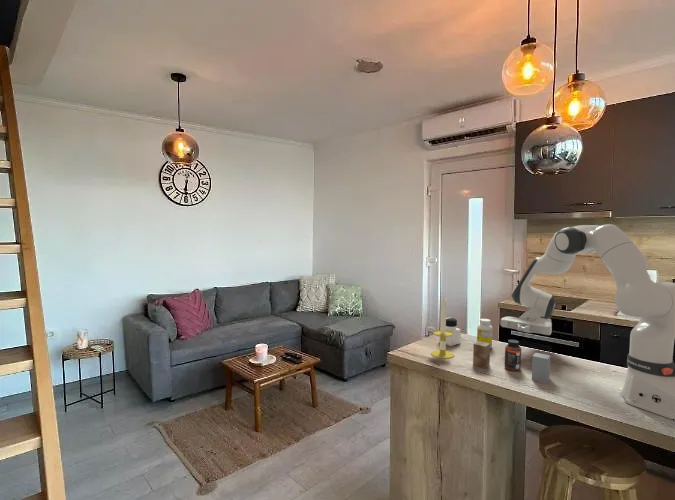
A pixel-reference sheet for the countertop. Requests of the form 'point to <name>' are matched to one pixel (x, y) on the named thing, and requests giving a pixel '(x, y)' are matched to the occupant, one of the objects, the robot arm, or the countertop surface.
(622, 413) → the countertop surface
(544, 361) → the slate block
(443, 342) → the candle
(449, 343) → the medicine bottle
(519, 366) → the supplement bottle
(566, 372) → the countertop surface
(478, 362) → the walnut block
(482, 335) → the supplement bottle
